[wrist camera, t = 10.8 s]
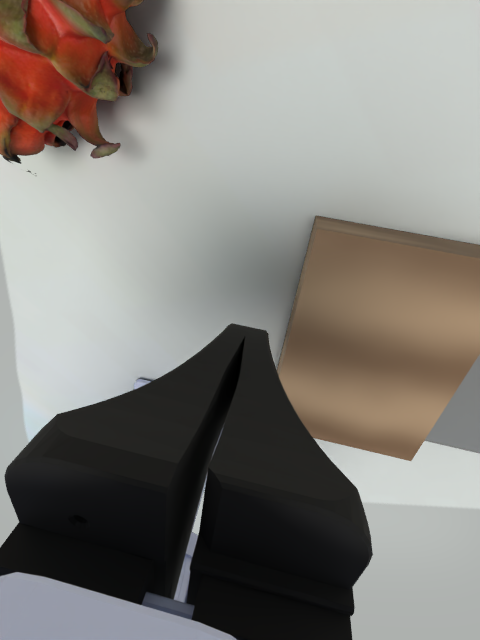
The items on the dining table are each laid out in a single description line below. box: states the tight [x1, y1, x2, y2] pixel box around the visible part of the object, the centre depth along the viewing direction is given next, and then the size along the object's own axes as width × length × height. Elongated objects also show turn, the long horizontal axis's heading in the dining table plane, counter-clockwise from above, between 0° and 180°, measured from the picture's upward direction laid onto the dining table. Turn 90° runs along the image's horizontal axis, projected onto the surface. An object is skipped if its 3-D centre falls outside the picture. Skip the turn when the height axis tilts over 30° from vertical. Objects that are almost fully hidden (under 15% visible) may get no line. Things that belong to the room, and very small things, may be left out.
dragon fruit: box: [0, 0, 158, 176], centre depth 13 cm, size 8×8×12 cm
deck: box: [277, 216, 480, 461], centre depth 20 cm, size 14×10×3 cm
